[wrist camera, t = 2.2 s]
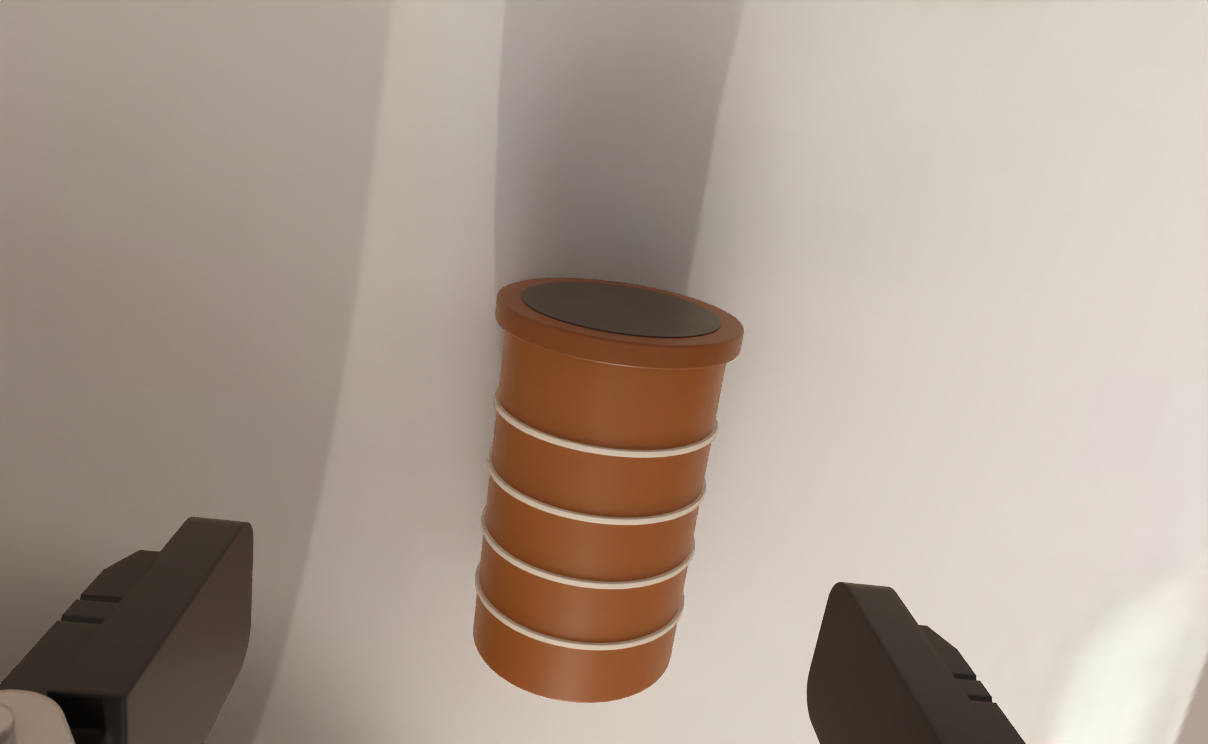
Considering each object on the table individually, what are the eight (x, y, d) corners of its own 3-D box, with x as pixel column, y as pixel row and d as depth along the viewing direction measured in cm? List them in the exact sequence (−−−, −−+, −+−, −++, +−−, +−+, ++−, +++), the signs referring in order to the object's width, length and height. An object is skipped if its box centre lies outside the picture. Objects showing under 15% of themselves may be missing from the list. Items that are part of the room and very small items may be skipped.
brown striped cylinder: (664, 586, 29) (698, 718, 23) (469, 571, 29) (453, 703, 22) (717, 292, 26) (772, 356, 20) (501, 267, 26) (492, 325, 19)
